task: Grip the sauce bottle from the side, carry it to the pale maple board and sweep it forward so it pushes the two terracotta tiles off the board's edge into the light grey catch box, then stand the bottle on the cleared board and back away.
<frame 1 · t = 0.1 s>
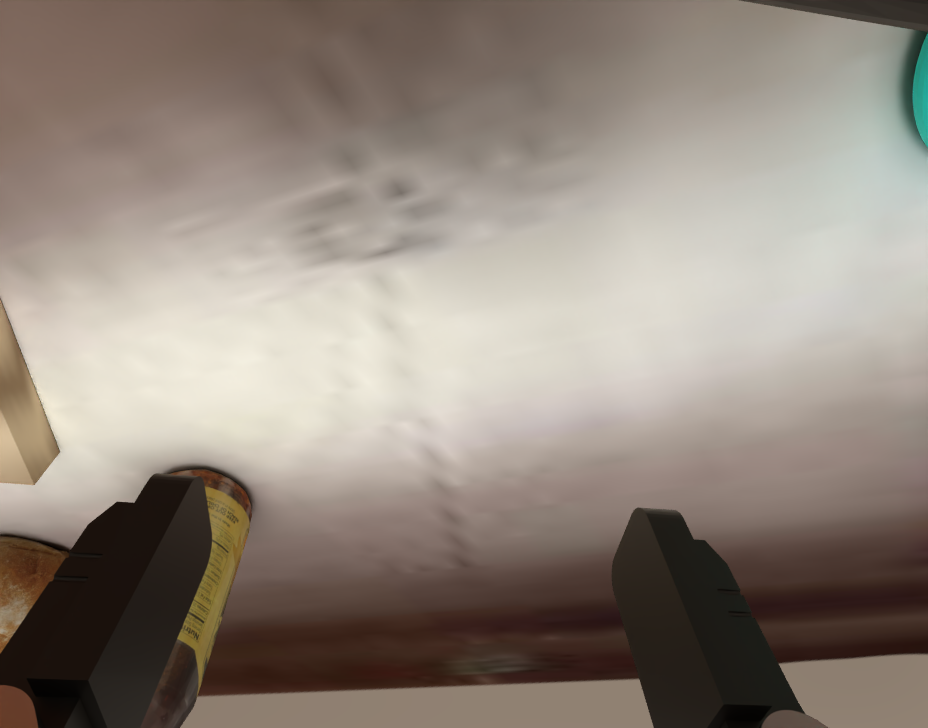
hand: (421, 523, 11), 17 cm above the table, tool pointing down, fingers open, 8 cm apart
bread roll: (39, 573, 40), on the table
sauce bottle: (209, 494, 36), on the table
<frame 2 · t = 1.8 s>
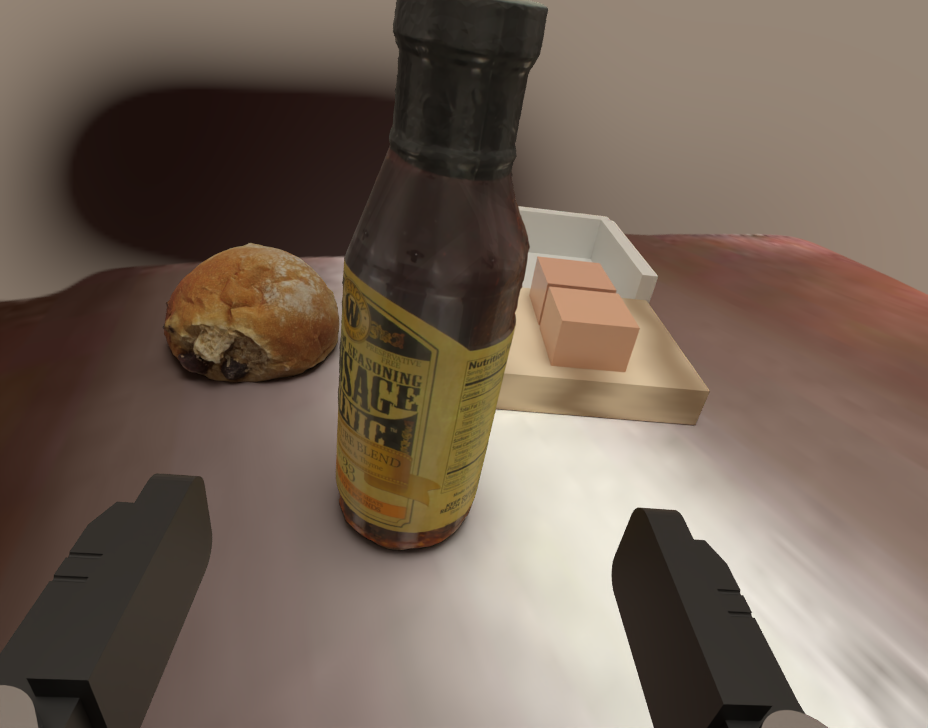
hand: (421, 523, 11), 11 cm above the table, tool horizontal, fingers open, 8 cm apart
bread roll: (257, 348, 36), on the table
catch box: (537, 285, 49), on the table
tile a: (580, 349, 35), point 2 cm above the table, touching board
sauce bottle: (406, 509, 26), on the table
board: (563, 361, 38), on the table
tile b: (565, 312, 39), point 2 cm above the table, touching board
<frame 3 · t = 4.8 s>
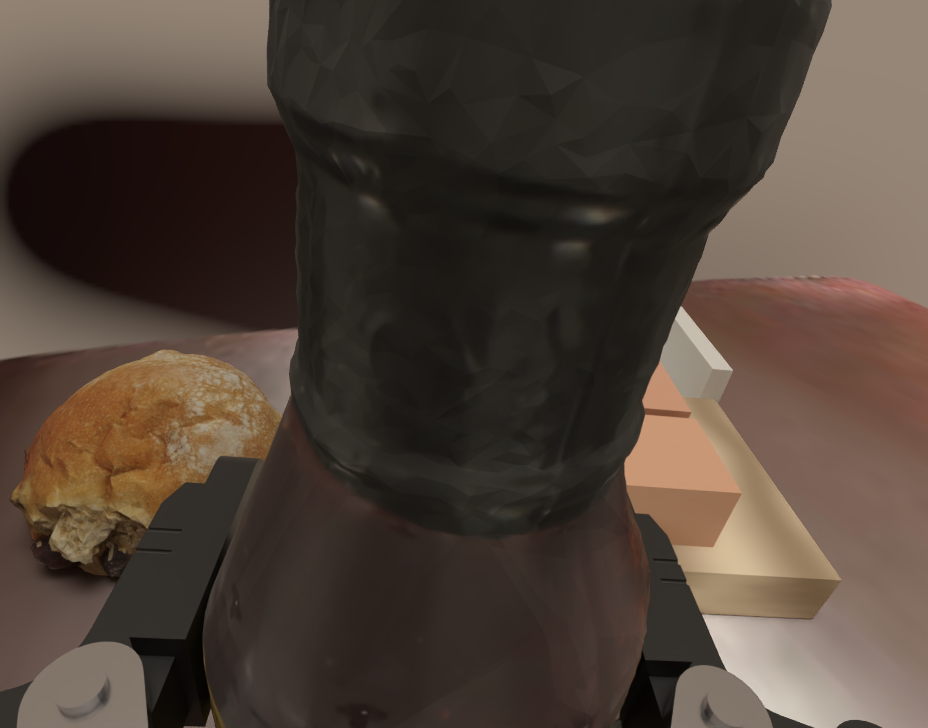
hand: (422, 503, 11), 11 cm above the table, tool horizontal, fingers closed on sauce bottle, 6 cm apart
bread roll: (173, 499, 25), on the table
catch box: (564, 364, 38), on the table
tile a: (642, 502, 24), point 2 cm above the table, touching board
board: (611, 500, 28), on the table
tile b: (612, 428, 28), point 2 cm above the table, touching board
when the fingers open (15 cm above the table, at t = 13.0 s): sauce bottle drops 1 cm, resting on board.
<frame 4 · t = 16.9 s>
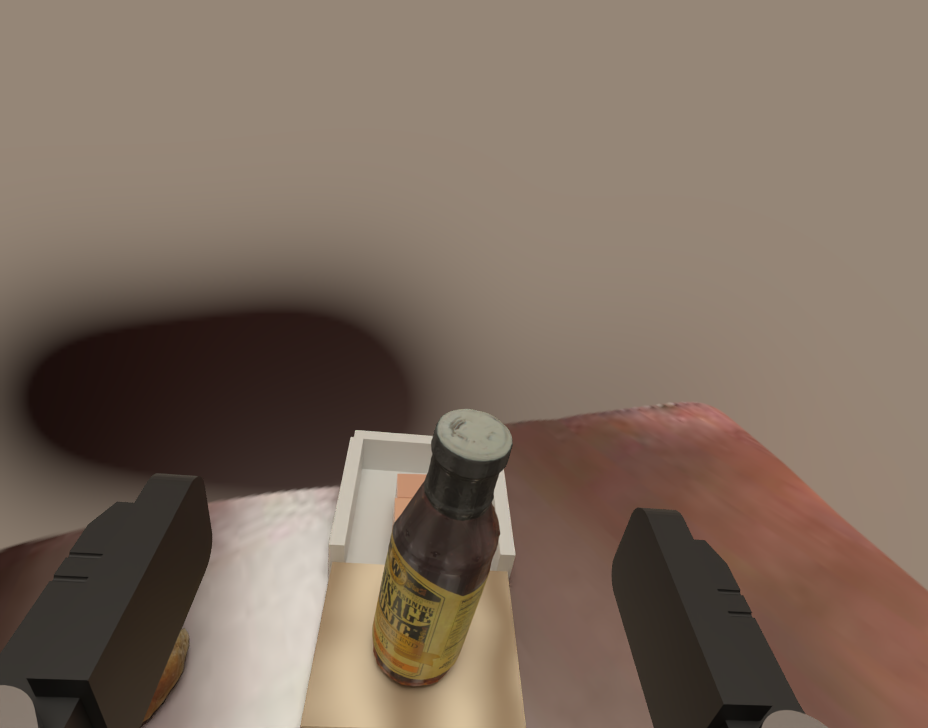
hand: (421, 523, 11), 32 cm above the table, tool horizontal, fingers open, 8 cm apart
bread roll: (105, 679, 38), on the table
catch box: (420, 525, 52), on the table
sauce bottle: (415, 651, 39), point 2 cm above the table, touching board
board: (415, 657, 41), on the table
tile b: (421, 517, 49), point 3 cm above the table, tilted 93°, touching catch box, tile a
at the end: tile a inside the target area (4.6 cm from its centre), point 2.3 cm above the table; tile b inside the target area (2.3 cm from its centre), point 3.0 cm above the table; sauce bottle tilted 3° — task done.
